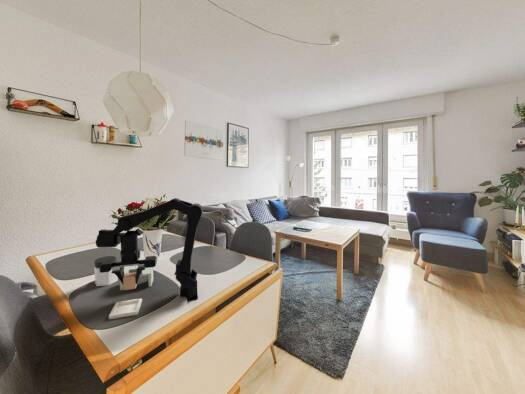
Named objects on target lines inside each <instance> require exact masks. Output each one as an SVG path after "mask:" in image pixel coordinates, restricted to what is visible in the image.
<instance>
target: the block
mask: <svg viewBox="0 0 525 394" xmlns="http://www.w3.org/2000/svg"><path fill="white" fill-rule="evenodd" d="M137 285H138V283H137V284H136V272H134V273H126V274H125V276H124V277H123V287H124V289H123V291H129V290H134V289H137Z"/></svg>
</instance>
